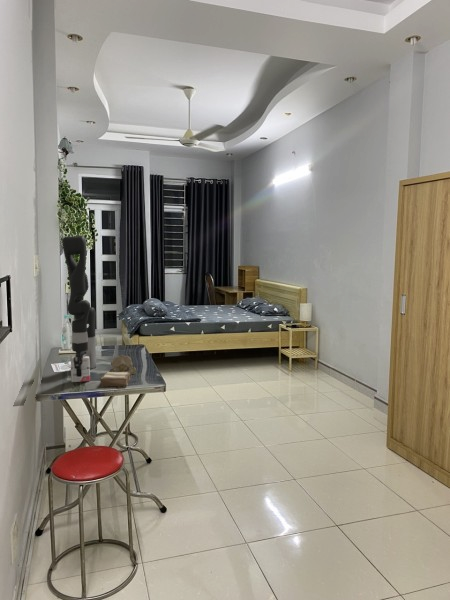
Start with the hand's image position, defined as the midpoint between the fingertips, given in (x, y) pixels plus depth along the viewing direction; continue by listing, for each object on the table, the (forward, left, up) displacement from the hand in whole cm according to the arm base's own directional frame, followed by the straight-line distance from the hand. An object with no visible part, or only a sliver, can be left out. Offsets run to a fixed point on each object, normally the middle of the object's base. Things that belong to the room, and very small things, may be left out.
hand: (80, 374), depth 228 cm
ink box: (0, 0, -3) cm, 3 cm away
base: (+4, +18, -3) cm, 19 cm away
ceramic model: (-15, +17, -3) cm, 23 cm away
